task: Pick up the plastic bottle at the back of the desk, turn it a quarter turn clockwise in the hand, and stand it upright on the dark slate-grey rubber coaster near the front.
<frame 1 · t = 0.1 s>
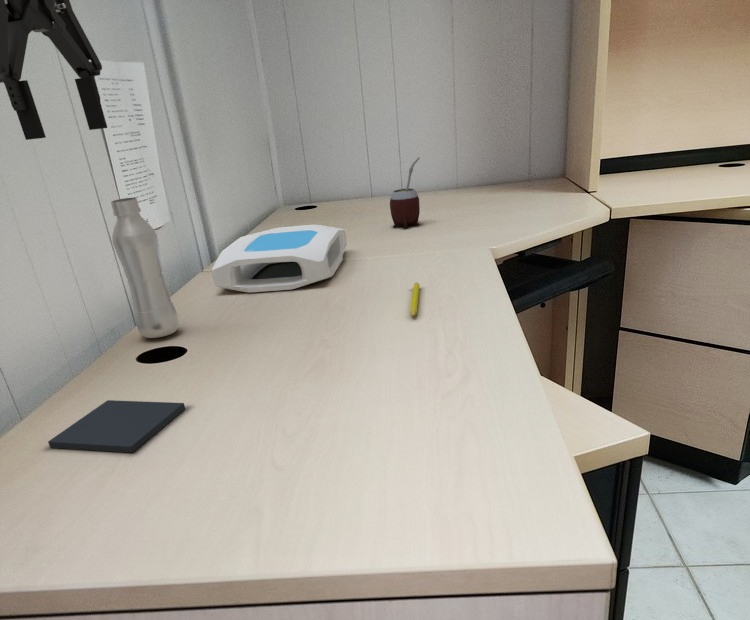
hand: (69, 133, 94), 29 cm above the table, tool pointing down, fingers open, 13 cm apart
mate gourd: (408, 227, 160), on the table
coaster: (120, 427, 77), on the table
plastic bottle: (161, 336, 105), on the table
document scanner: (287, 273, 133), on the table
pencil: (415, 303, 106), on the table
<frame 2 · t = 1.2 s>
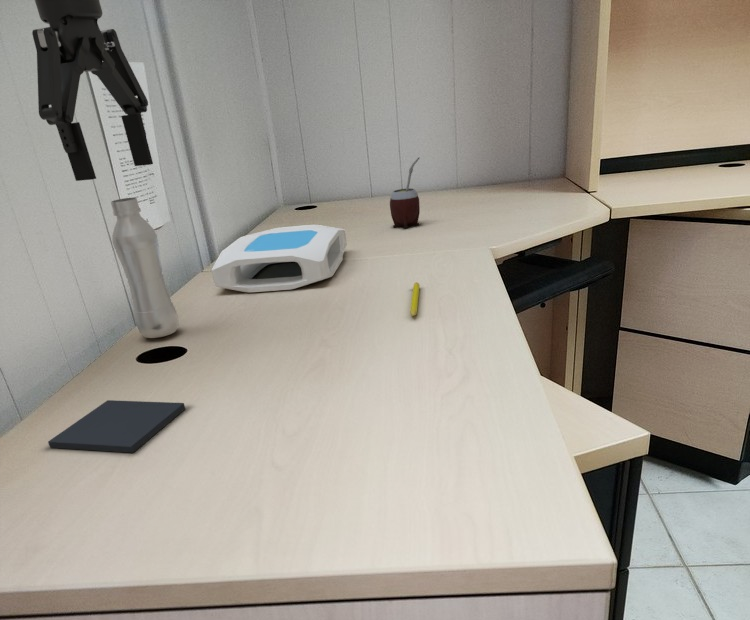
hand: (116, 172, 93), 24 cm above the table, tool pointing down, fingers open, 13 cm apart
nothing on the table moved.
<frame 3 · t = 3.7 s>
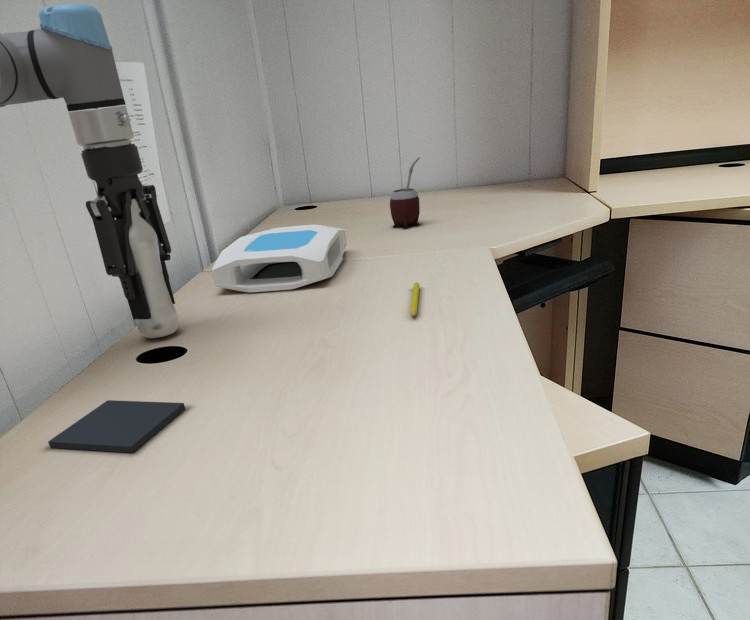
hand: (154, 311, 103), 4 cm above the table, tool pointing down, fingers closed on plastic bottle, 6 cm apart
plastic bottle: (161, 336, 105), on the table, touching gripper
everything else where it was.
when the fingers open (5 cm above the table, at t = 13.4 s): plastic bottle stays where it is, resting on coaster.
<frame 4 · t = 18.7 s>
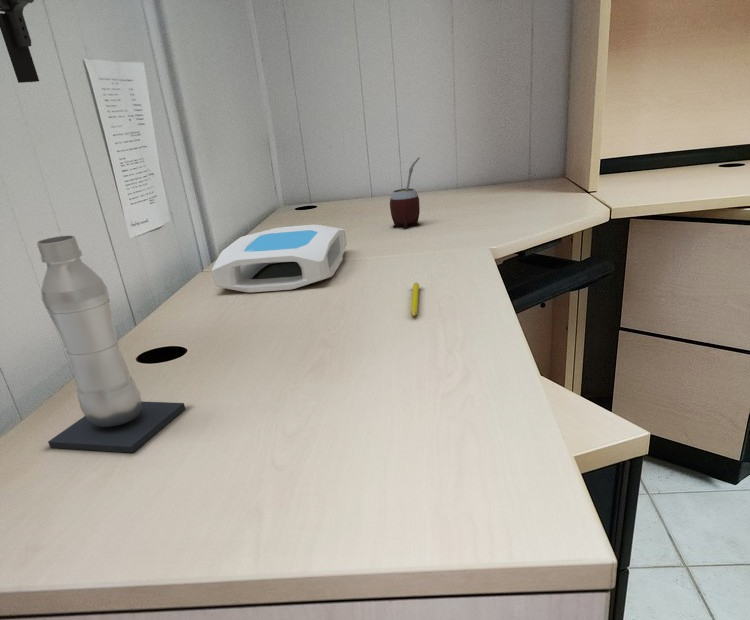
plastic bottle: (118, 422, 76), point 1 cm above the table, touching coaster
everything else where it was.
at the end: plastic bottle inside the target area on the coaster (0.0 cm from its centre), point 0.6 cm above the coaster's base; plastic bottle tilted 0°; the gripper is holding nothing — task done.
